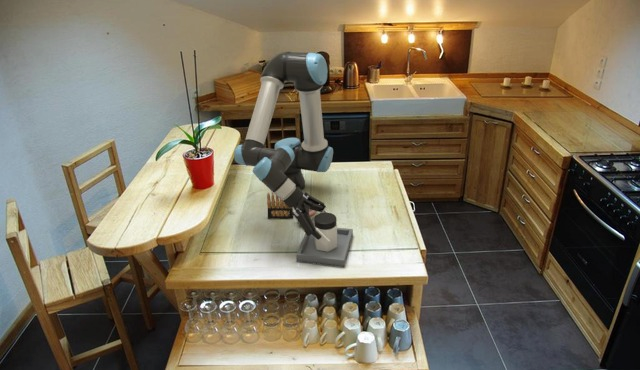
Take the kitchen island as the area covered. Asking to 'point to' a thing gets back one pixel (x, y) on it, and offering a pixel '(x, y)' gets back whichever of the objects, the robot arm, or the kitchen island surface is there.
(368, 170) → the kitchen island surface
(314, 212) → the cupcake
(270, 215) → the ammunition clip
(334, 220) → the jar
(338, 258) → the tray
